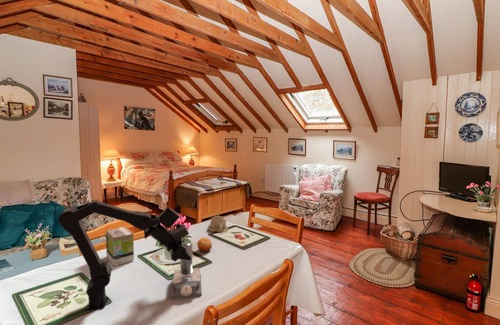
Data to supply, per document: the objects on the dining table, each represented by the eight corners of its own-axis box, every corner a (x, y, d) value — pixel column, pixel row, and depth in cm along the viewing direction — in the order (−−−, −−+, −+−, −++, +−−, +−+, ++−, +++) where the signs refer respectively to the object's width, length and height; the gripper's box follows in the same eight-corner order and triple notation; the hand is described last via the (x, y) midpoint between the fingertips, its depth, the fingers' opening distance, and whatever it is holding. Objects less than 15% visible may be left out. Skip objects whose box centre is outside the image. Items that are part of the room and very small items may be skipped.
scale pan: (200, 286, 112) (200, 280, 112) (172, 289, 110) (172, 283, 109) (199, 273, 122) (199, 267, 122) (174, 275, 120) (174, 270, 120)
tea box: (134, 260, 139) (133, 233, 137) (113, 266, 132) (112, 237, 131) (125, 251, 150) (124, 225, 149) (106, 256, 144) (104, 229, 142)
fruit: (203, 243, 159) (207, 233, 155) (210, 253, 155) (215, 243, 152) (192, 247, 152) (196, 237, 149) (200, 257, 149) (204, 247, 145)
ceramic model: (228, 226, 193) (228, 213, 192) (227, 232, 181) (227, 218, 180) (209, 226, 193) (209, 213, 192) (206, 232, 181) (206, 217, 181)
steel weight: (189, 275, 113) (189, 246, 112) (178, 274, 114) (178, 245, 112) (194, 269, 118) (194, 242, 116) (183, 268, 118) (183, 241, 117)
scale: (201, 296, 108) (201, 284, 108) (170, 299, 106) (170, 287, 105) (200, 276, 123) (200, 266, 123) (173, 279, 121) (173, 268, 120)
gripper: (180, 227, 103) (208, 250, 109) (173, 214, 120) (197, 235, 126) (159, 250, 101) (188, 272, 106) (155, 233, 118) (180, 253, 123)
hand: (189, 256), depth 116 cm, fingers closed on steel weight, 5 cm apart
